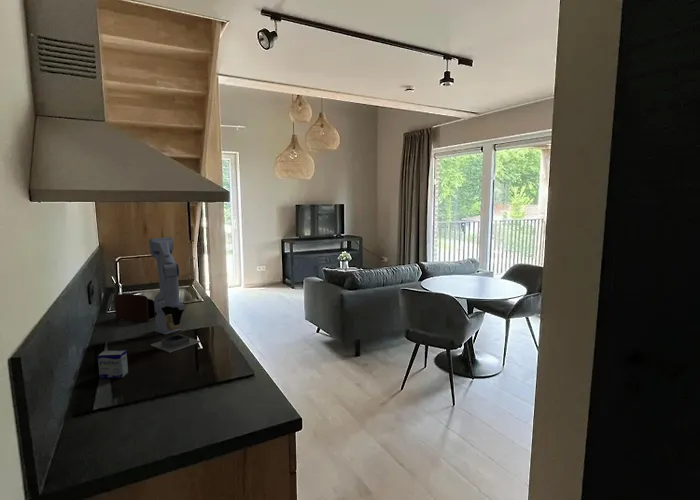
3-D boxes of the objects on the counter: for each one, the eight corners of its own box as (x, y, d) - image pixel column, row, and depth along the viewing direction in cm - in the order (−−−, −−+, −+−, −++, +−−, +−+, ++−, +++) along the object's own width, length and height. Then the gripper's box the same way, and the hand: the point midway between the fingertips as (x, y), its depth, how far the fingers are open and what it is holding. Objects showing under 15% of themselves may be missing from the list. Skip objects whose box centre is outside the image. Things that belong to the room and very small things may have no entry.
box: (98, 379, 136) (96, 355, 135) (105, 373, 141) (103, 350, 140) (122, 378, 137) (120, 354, 136) (128, 372, 142) (126, 349, 141)
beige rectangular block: (166, 329, 168) (165, 315, 167) (175, 326, 171) (174, 313, 171) (171, 330, 166) (170, 316, 165) (180, 328, 169) (179, 314, 168)
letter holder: (148, 322, 202) (146, 295, 200) (115, 320, 206) (113, 293, 205) (161, 316, 212) (159, 290, 210) (130, 314, 216) (127, 289, 214)
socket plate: (150, 345, 168) (150, 339, 168) (181, 336, 179) (180, 330, 179) (169, 352, 160) (169, 346, 160) (200, 342, 171) (199, 336, 171)
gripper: (153, 292, 168) (155, 323, 169) (172, 296, 159) (174, 329, 161) (168, 289, 173) (171, 319, 175) (188, 293, 165) (190, 324, 167)
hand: (173, 323), depth 168 cm, fingers closed on beige rectangular block, 4 cm apart
